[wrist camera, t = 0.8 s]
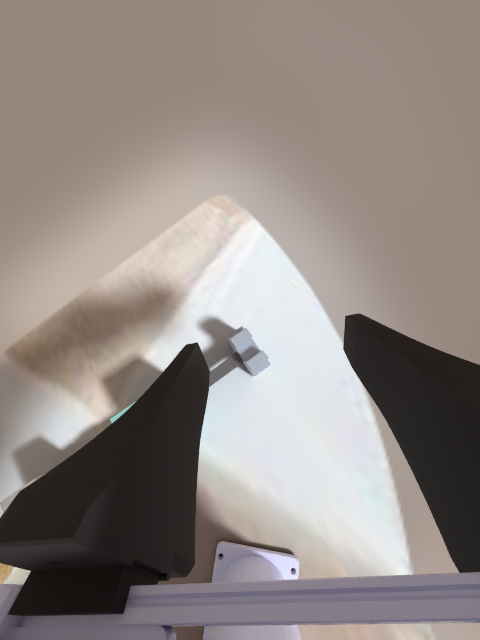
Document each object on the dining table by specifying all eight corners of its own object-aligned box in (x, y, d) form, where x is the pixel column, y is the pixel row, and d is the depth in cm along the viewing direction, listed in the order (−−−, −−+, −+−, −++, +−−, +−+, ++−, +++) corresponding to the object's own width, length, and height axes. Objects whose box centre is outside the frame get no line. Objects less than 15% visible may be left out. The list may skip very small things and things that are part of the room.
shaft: (240, 350, 24) (240, 348, 23) (247, 360, 24) (248, 359, 22) (47, 487, 20) (33, 496, 19) (53, 502, 20) (40, 511, 18)
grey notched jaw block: (241, 333, 26) (242, 323, 21) (265, 366, 25) (272, 363, 20) (228, 342, 26) (226, 334, 21) (252, 376, 25) (256, 375, 20)
